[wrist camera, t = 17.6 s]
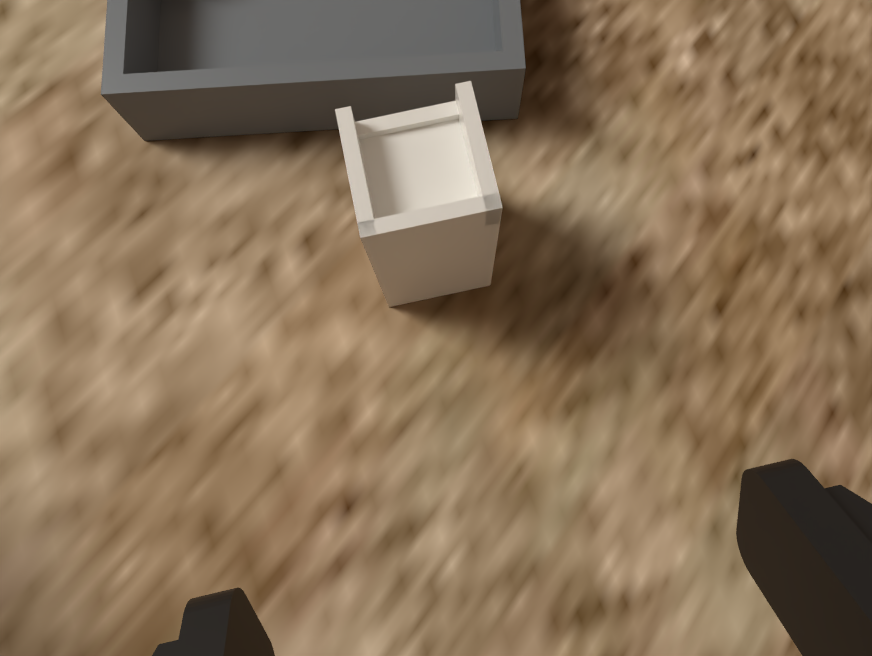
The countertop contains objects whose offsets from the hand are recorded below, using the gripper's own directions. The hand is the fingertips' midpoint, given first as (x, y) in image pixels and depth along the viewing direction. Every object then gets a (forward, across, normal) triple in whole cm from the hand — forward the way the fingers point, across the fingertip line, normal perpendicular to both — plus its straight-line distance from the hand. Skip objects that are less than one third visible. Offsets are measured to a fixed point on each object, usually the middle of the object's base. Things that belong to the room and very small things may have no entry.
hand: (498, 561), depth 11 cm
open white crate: (+24, -1, +6) cm, 25 cm away
